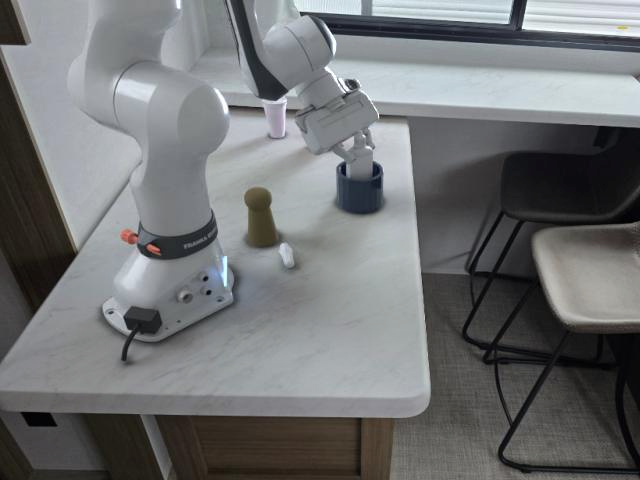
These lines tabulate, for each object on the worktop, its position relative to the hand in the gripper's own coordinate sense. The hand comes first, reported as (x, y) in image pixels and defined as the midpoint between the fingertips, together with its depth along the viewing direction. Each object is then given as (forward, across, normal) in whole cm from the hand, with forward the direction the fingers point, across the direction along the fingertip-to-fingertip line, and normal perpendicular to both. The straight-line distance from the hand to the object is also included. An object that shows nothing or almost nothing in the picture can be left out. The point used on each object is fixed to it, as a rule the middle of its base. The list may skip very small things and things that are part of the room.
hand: (362, 156), depth 117 cm
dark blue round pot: (+8, 0, +8) cm, 11 cm away
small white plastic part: (+9, -26, +7) cm, 29 cm away
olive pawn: (+3, -23, +14) cm, 27 cm away
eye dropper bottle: (+4, 0, +5) cm, 7 cm away
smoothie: (-18, +14, +35) cm, 42 cm away
